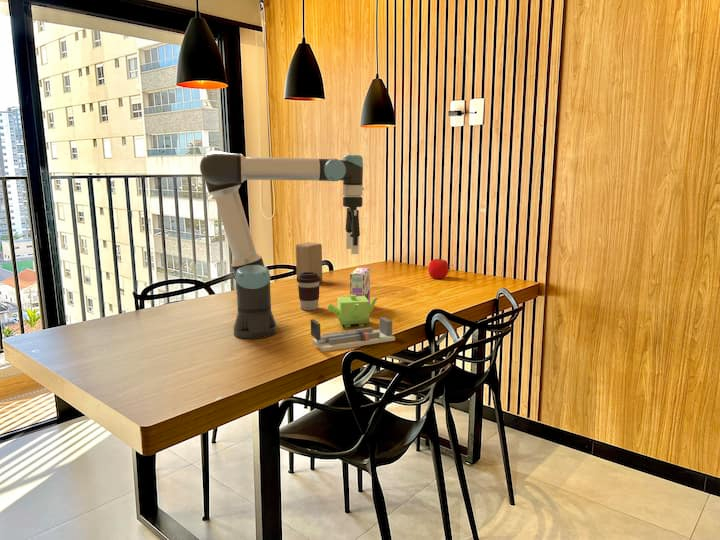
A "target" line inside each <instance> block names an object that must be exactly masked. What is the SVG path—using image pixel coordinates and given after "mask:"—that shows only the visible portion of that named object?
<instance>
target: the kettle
mask: <svg viewBox="0 0 720 540" xmlns="http://www.w3.org/2000/svg"><path fill="white" fill-rule="evenodd" d="M380 298H381V297H380V296H379V297H378V296H377V297H373V298H372V299H371V300H370V306H369V301H368V299H367V298H366V297H365V296H357V295H349V296H338V297H337V307H336V306H335V305H333V304H332V303H330V304H329V305H328V306H327V310H330V312H333V313H334V314H336V315H337V319H338V321H339V323H340V325H341V326H342V325H343V326H344V328H350V327H351V326H352V325H358V326H359V327H360V328H365V324H370V314H371V313H372V311H373V310H374V308H375V304H376V302H377V300H379V299H380Z"/></svg>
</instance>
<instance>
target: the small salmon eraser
mask: <svg viewBox="0 0 720 540" xmlns="http://www.w3.org/2000/svg"><path fill="white" fill-rule="evenodd" d="M364 340H369V333H367V332H366V333H364Z"/></svg>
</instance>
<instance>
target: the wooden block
mask: <svg viewBox="0 0 720 540" xmlns="http://www.w3.org/2000/svg"><path fill="white" fill-rule="evenodd" d="M295 261H296V262H295V265H296V266H295V267H296V278H297V277H298V276H300V274H301V273H303V272H315V273H317V275H318V276H320V277H321V281H319V283H320V282H323V245H322V243H318V242H303V243H301V242H300V243H297V244H296V245H295Z"/></svg>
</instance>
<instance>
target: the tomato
mask: <svg viewBox="0 0 720 540" xmlns="http://www.w3.org/2000/svg"><path fill="white" fill-rule="evenodd" d="M448 263H449V262H448V261H447V260H445V259H441V258H436V259H435V258H434V259H432V260H430V262H429V265H428V274H429V276H430V278H432V279H436V280H442V279H444V278H446V277H447V276H448V274H449V267H450V266H449V264H448Z"/></svg>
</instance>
